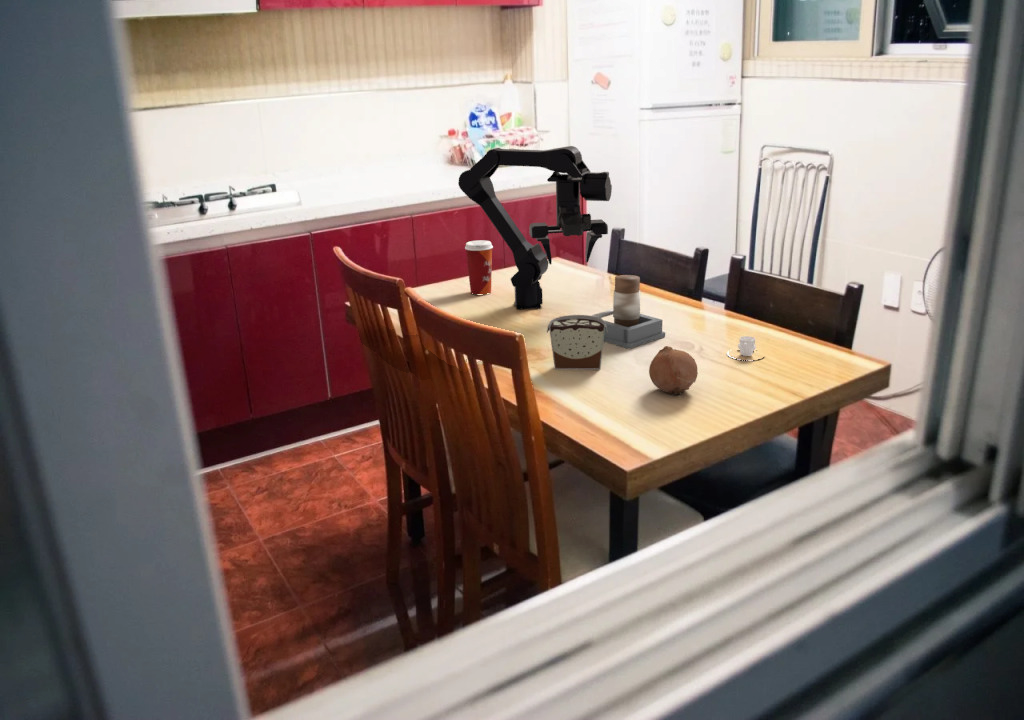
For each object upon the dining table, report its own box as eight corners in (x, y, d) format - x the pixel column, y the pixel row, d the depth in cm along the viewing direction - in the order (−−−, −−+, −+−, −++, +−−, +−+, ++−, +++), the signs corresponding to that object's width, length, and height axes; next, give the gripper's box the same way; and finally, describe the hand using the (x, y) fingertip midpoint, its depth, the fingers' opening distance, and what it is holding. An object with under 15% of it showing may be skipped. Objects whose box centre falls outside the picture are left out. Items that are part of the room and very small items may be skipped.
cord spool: (611, 334, 187) (612, 280, 183) (614, 327, 193) (615, 274, 189) (638, 335, 186) (640, 281, 182) (640, 328, 192) (642, 275, 188)
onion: (657, 400, 162) (644, 352, 162) (702, 388, 160) (690, 340, 160) (655, 401, 153) (642, 351, 153) (703, 389, 151) (690, 338, 152)
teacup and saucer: (741, 347, 181) (742, 329, 180) (774, 355, 176) (776, 336, 175) (719, 357, 176) (720, 339, 174) (752, 366, 170) (754, 347, 169)
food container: (607, 359, 176) (607, 313, 172) (607, 369, 170) (607, 322, 167) (549, 359, 177) (548, 314, 174) (547, 369, 171) (546, 323, 168)
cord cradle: (589, 336, 190) (589, 314, 188) (626, 325, 197) (627, 304, 196) (628, 349, 181) (628, 326, 180) (665, 336, 188) (666, 314, 187)
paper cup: (494, 296, 225) (492, 245, 221) (466, 297, 226) (463, 246, 221) (495, 288, 233) (493, 239, 228) (468, 289, 233) (465, 240, 228)
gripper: (534, 207, 194) (535, 272, 199) (612, 203, 195) (612, 268, 201) (528, 200, 204) (530, 262, 209) (603, 196, 206) (602, 258, 211)
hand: (568, 263), depth 207 cm, fingers open, 9 cm apart
